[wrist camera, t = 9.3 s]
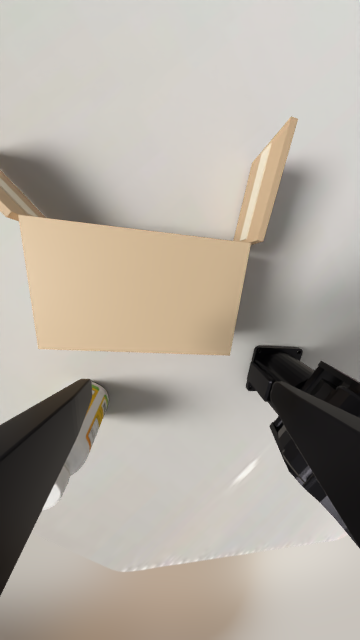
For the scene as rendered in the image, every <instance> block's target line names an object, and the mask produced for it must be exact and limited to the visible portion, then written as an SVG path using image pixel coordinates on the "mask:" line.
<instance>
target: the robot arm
mask: <svg viewBox="0 0 360 640" xmlns="http://www.w3.org/2000/svg"><path fill="white" fill-rule="evenodd" d="M259 349H260V350H259ZM258 350H259V351H258ZM302 352H303V351H302V349H300V348H295V347H271V346H257V347H255V349H254V353H253V357H252V362H251V364H250V368H249V372H248V377H247V383H246V388H247V390H248V391H257V392H258V393H259V395H260V396H261V397H262V399H263V400H264V401H265V402H268V403H269V404H270V405H271V407H272V408H273V409H274V410H275V412H276V413H277V414H278V415H279V416H278V418H277V419H276V420H275V421H274V422H272V423H271V425H270V429H271V431H272V433H273V436H274V438H275V440H276V443H277V445H278V448H279V450H280V452H281V455H282V457H283V459H284V462H285V464H286V465H287V468H288V470H289V472H290V473H291V474H292V475H293V476H294V477H295V478H296V480H297V481H298V482H299V483H300V484H301V485H302V486H303V487H304V488H305V489H306V490H307V491H308V492H309V493H310V494H311V495H312V496H313V497H315V498H316V499H317V500H318V501H319V502H320V503H321V504H322V505H323V506H324V507H325V508H326V509H327V510H328V512H329V513H330V514H331V515H332V516H333V517H334V518H335V519H336V520H337V521H338V523H339V524H340V525H341V526H342V527H343V529H344V530H345V531H346V532H347V533H348V535H349V536H350V537H351V538H352V540H353V541H354V542H355V543H356V545H357V546H358V547H359V548H360V382H359V381H357V380H355V379H353V378H352V377H350V376H348V375H346V374H344V373H343V372H341V371H339V370H337V369H335V368H333V367H332V366H330V365H328V364H326V363H324V362H322V361H321V362H320V363H319V364H318V367H317V369H316V370H315V371H314V370H313V369H311V368H310V367H308V366H307V365H305V364H304V363H302V362H300V359H301V356H302ZM250 386H251V387H250ZM91 399H92V382H91V380H90V379H80V380H78V381H76V382H75V383H73V384H71V385H69V386H68V387H66V388H64V389H62V390H61V391H59V392H57V393H55V394H54V395H52V396H50V397H48V398H47V399H45V400H43V401H41V402H40V403H38V404H36V405H34V406H33V407H31V408H29V409H27V410H26V411H24V412H22V413H20V414H19V415H17V416H15V417H14V418H12V419H10V420H8V421H7V422H5V423H3V424H1V425H0V595H1V593H2V591H3V589H4V587H5V585H6V583H7V581H8V579H9V577H10V575H11V573H12V571H13V569H14V566H15V565H16V563H17V560H18V558H19V556H20V554H21V552H22V550H23V548H24V546H25V544H26V542H27V540H28V538H29V536H30V534H31V532H32V530H33V528H34V525H35V523H36V521H37V519H38V517H39V515H40V513H41V511H42V509H43V507H44V505H45V503H46V501H47V499H48V497H49V495H50V493H51V490H52V488H53V486H54V484H55V482H56V480H57V478H58V476H59V474H60V472H61V470H62V468H63V466H64V464H65V462H66V460H67V458H68V455H69V453H70V451H71V449H72V447H73V445H74V443H75V441H76V439H77V437H78V434H79V432H80V429H81V427H82V424H83V421H84V419H85V416H86V413H87V410H88V408H89V405H90V402H91Z"/></svg>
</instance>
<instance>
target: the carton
mask: <svg viewBox="0 0 360 640" xmlns="http://www.w3.org/2000/svg"><path fill="white" fill-rule="evenodd" d="M18 217H19V224H20V230H21V237H22V243H23V250H24V257H25V263H26V270H27V277H28V283H29V290H30V296H31V303H32V310H33V316H34V323H35V330H36V336H37V343H38V349H55V350H84V351H113V352H142V353H171V354H201V355H230V351H231V346H232V341H233V335H234V330H235V325H236V320H237V314H238V309H239V304H240V299H241V293H242V288H243V283H244V277H245V272H246V267H247V262H248V256H249V251H250V246H251V243H245V242H237V241H229V240H221V239H213V238H204V237H196V236H188V235H180V234H172V233H163V232H155V231H147V230H139V229H131V228H123V227H114V226H106V225H98V224H90V223H82V222H73V221H65V220H57V219H49V218H41V217H32V216H24V215H18Z"/></svg>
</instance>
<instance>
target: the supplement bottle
mask: <svg viewBox="0 0 360 640" xmlns="http://www.w3.org/2000/svg"><path fill="white" fill-rule="evenodd" d="M108 402H109V397H108V394H107V392H106V390H105V389H104V388H103V387H101V386H100V385H98V384H96V383H93V382H92V399H91V402H90V405H89V408H88V410H87V413H86V416H85V419H84V421H83V424H82V427H81V429H80V432H79V434H78V437H77V439H76V441H75V443H74V445H73V447H72V449H71V451H70V453H69V455H68V458H67V460H66V462H65V464H64V466H63V468H62V470H61V472H60V474H59V476H58V478H57V480H56V482H55V484H54V486H53V488H52V490H51V493H50V495H49V497H48V499H47V501H46V503H45V505H44V507H43V509H42V510H46V509H48V508H51V507H52V506H54V505H55V504H56V503H57V502H58V501H59V500H60V498H61V497H62V494H63V492H64V490H65V488H66V486H67V484H68V482H69V478H70V476H71V475H73V474H74V473H76V472H77V471H78V470H79V469H80V468H81V467H82V466H83V464H84V463H85V461H86V459H87V456H88V454H89V452H90V449H91V447H92V444H93V442H94V439H95V437H96V434H97V432H98V429H99V427H100V424H101V422H102V419H103V417H104V414H105V412H106V409H107V406H108Z"/></svg>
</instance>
